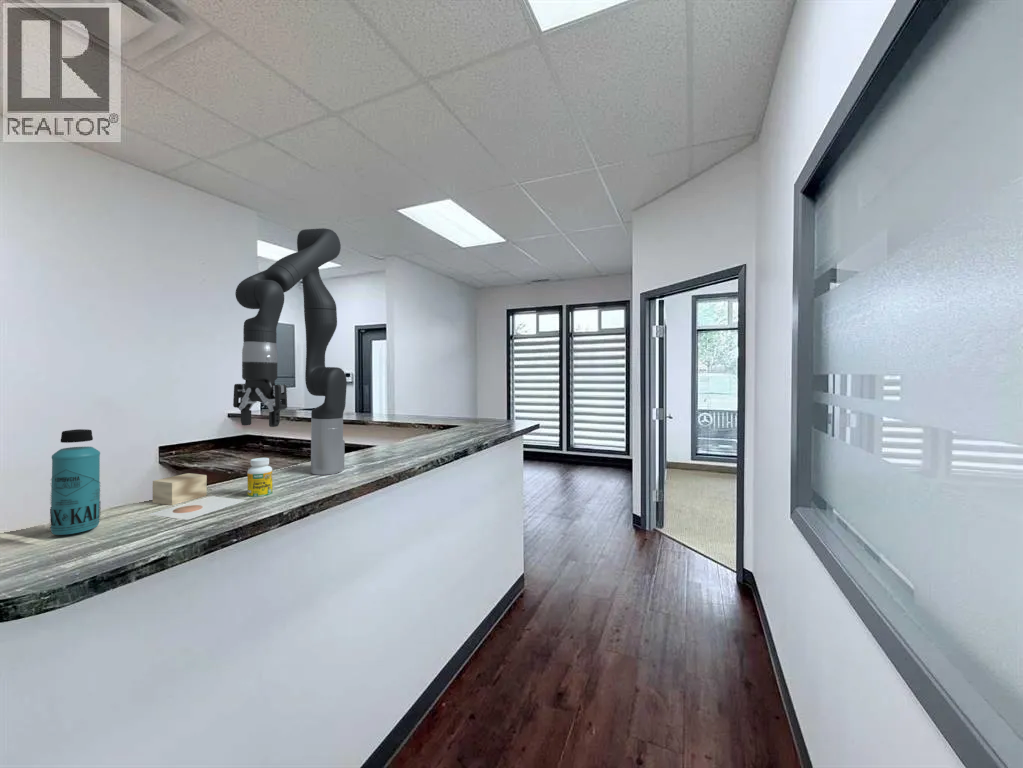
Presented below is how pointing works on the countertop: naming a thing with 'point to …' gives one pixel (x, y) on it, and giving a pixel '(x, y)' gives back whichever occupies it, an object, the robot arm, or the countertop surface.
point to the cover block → (179, 488)
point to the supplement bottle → (259, 478)
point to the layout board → (197, 507)
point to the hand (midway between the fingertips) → (259, 425)
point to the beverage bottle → (75, 485)
